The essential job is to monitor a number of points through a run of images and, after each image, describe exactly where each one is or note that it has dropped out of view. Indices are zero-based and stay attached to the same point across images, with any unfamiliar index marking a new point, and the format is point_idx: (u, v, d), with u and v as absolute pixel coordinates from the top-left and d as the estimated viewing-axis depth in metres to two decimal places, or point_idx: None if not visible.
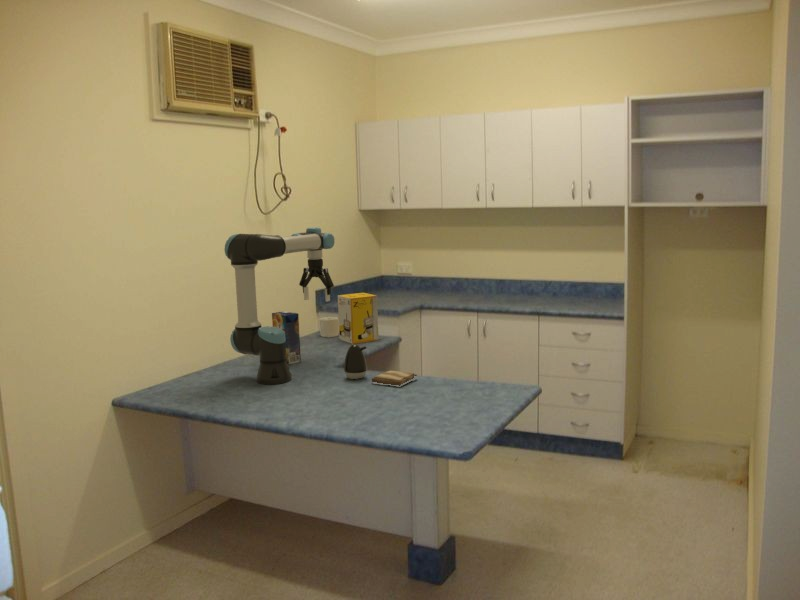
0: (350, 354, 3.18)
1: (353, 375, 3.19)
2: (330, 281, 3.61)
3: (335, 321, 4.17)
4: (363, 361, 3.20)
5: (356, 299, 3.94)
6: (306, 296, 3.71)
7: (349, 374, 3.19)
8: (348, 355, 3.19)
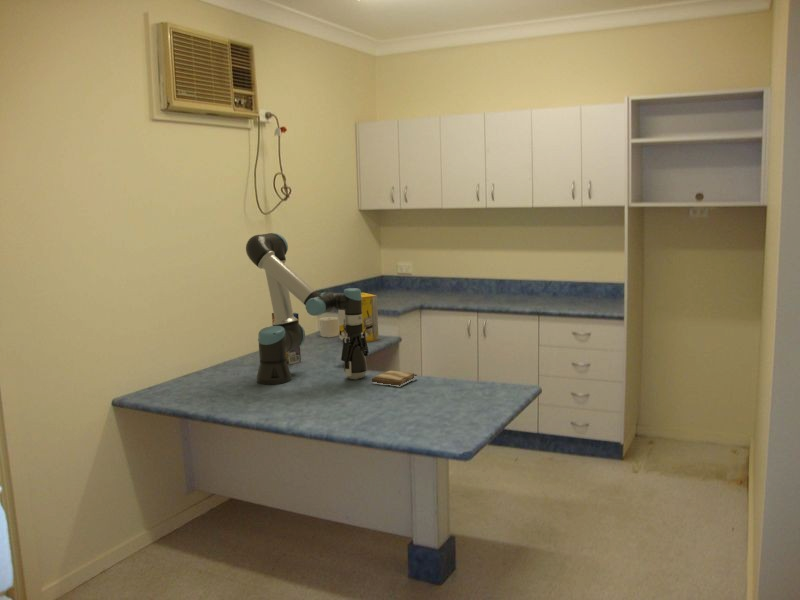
0: None
1: (353, 375, 3.19)
2: (343, 354, 3.15)
3: (335, 321, 4.17)
4: (363, 361, 3.20)
5: None
6: None
7: None
8: None
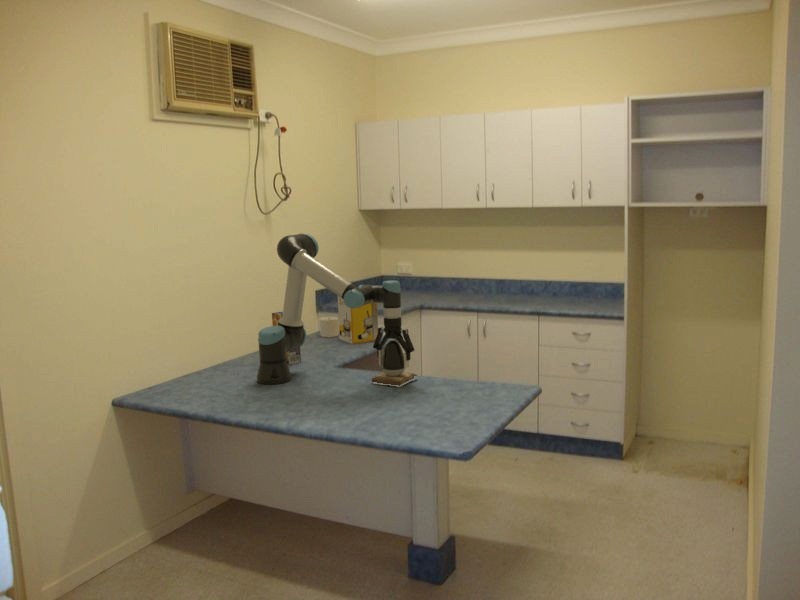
0: (400, 349, 3.11)
1: None
2: (410, 345, 3.08)
3: (335, 321, 4.17)
4: None
5: None
6: (381, 361, 3.16)
7: (403, 370, 3.11)
8: (399, 351, 3.10)
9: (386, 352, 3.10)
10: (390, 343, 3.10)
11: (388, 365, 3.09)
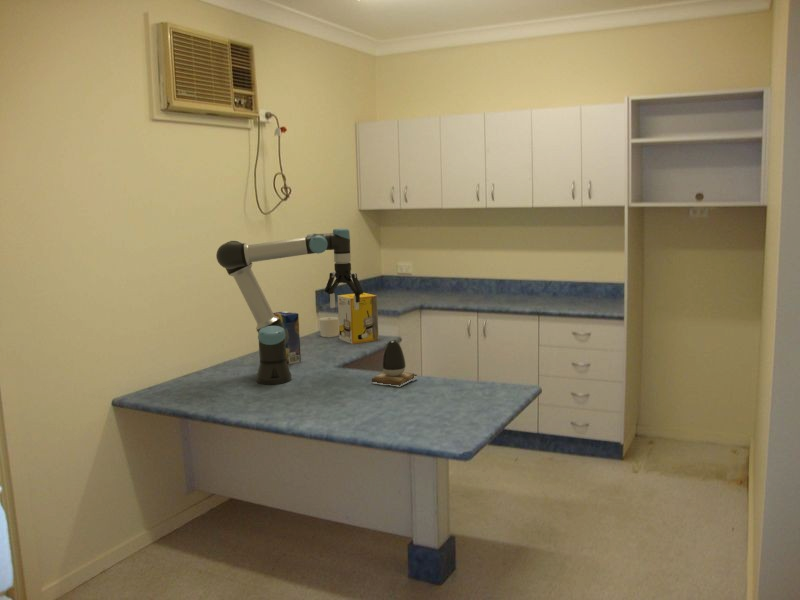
0: (400, 349, 3.11)
1: (404, 369, 3.13)
2: (359, 287, 3.29)
3: (335, 321, 4.17)
4: None
5: None
6: (332, 304, 3.38)
7: (403, 369, 3.12)
8: (399, 351, 3.10)
9: (386, 352, 3.10)
10: (390, 343, 3.11)
11: (388, 365, 3.09)
